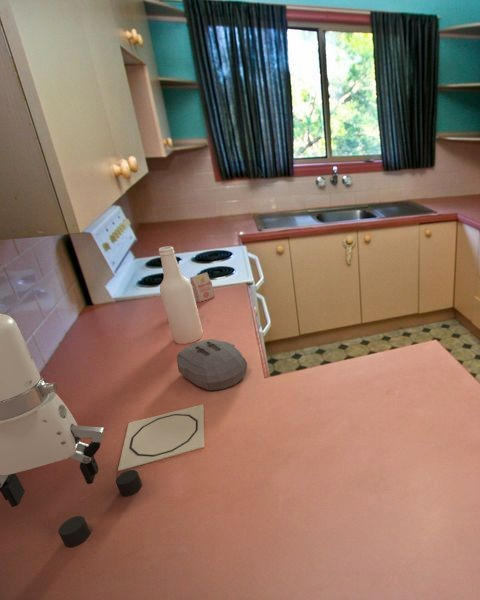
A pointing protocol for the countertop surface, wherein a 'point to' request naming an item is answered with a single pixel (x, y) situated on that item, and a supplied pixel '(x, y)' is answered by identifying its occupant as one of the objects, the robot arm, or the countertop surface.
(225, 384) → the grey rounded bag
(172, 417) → the sheet
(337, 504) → the countertop surface
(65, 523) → the cylinder
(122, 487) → the cylinder
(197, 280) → the small printed carton
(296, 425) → the countertop surface
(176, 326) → the alcohol
